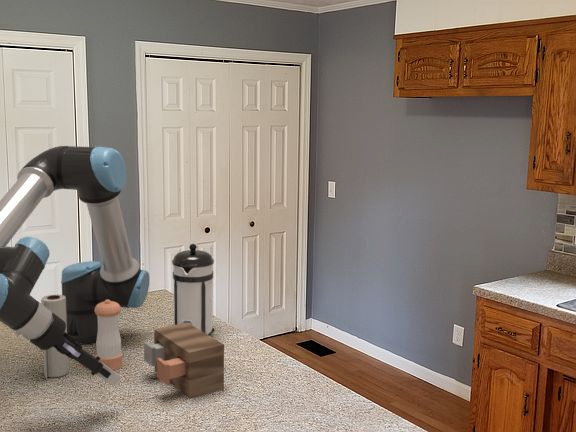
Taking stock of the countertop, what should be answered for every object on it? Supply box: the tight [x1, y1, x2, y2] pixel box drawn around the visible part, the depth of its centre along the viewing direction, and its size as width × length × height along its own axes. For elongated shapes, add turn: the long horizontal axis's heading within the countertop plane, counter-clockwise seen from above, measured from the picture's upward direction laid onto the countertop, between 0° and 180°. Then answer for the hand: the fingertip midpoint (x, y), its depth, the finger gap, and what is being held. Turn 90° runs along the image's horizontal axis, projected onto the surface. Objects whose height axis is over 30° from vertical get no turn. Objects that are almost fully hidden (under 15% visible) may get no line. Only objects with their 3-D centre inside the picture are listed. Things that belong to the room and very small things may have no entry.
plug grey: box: [143, 341, 165, 367], centre depth 170 cm, size 5×14×5 cm, turn 127°
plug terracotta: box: [156, 357, 186, 385], centre depth 160 cm, size 5×14×5 cm, turn 127°
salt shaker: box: [94, 300, 124, 372], centre depth 174 cm, size 7×7×19 cm
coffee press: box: [171, 243, 215, 335], centre depth 198 cm, size 17×16×30 cm
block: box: [153, 323, 225, 399], centre depth 167 cm, size 20×10×12 cm, turn 37°
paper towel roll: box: [40, 294, 69, 381], centre depth 168 cm, size 7×6×21 cm
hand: (116, 380), depth 149 cm, fingers closed
